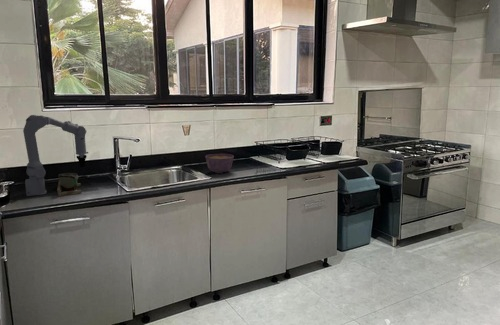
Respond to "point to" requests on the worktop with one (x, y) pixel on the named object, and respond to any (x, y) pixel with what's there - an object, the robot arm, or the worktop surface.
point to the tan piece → (67, 191)
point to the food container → (68, 181)
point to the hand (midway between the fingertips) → (82, 167)
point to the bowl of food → (219, 162)
